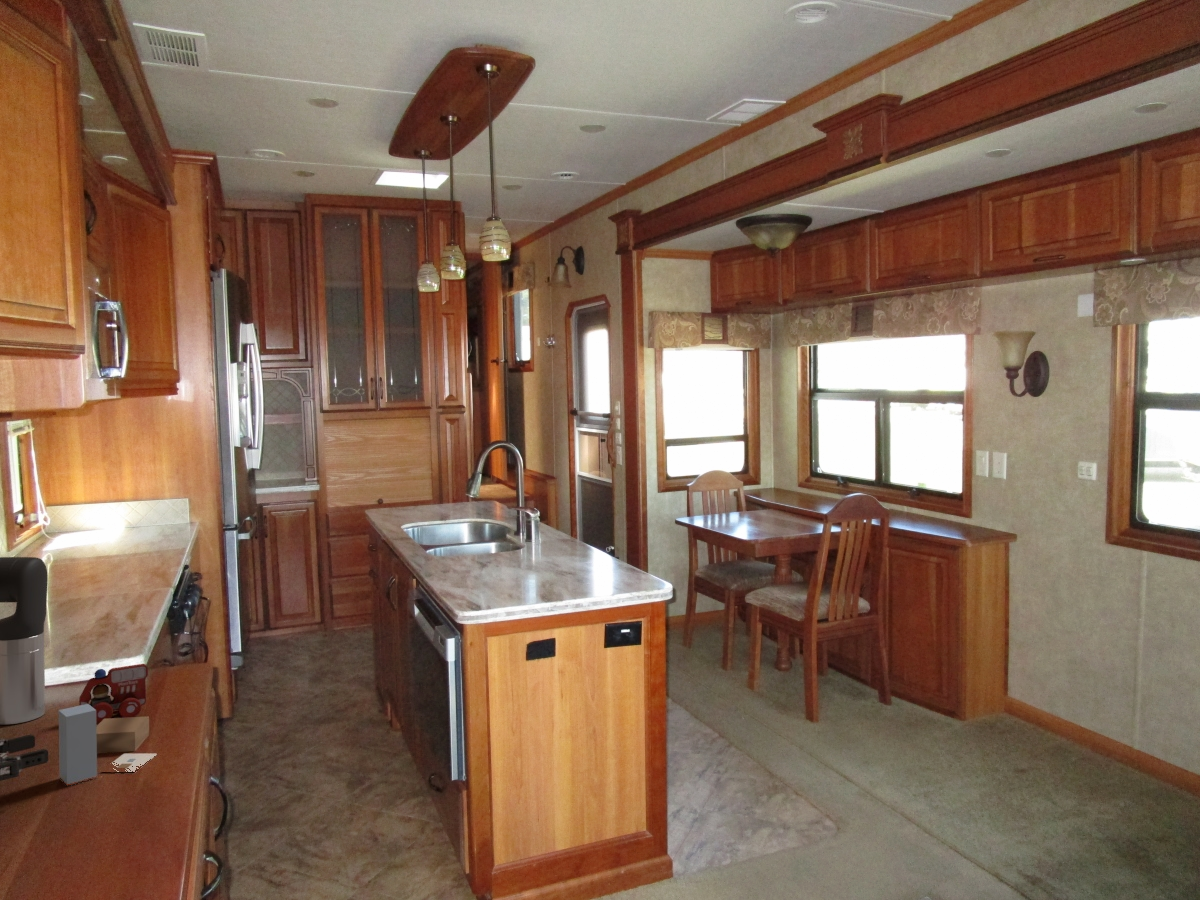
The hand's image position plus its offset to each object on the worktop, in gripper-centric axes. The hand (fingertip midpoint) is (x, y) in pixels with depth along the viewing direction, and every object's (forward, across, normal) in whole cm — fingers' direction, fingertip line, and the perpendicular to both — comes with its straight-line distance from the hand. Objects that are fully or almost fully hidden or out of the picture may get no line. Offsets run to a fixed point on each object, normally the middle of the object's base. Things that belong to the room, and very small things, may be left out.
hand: (40, 747), depth 140 cm
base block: (+15, +11, +7) cm, 20 cm away
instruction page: (+14, 0, +7) cm, 15 cm away
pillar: (+5, 0, +7) cm, 9 cm away
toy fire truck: (+19, +28, +7) cm, 35 cm away
